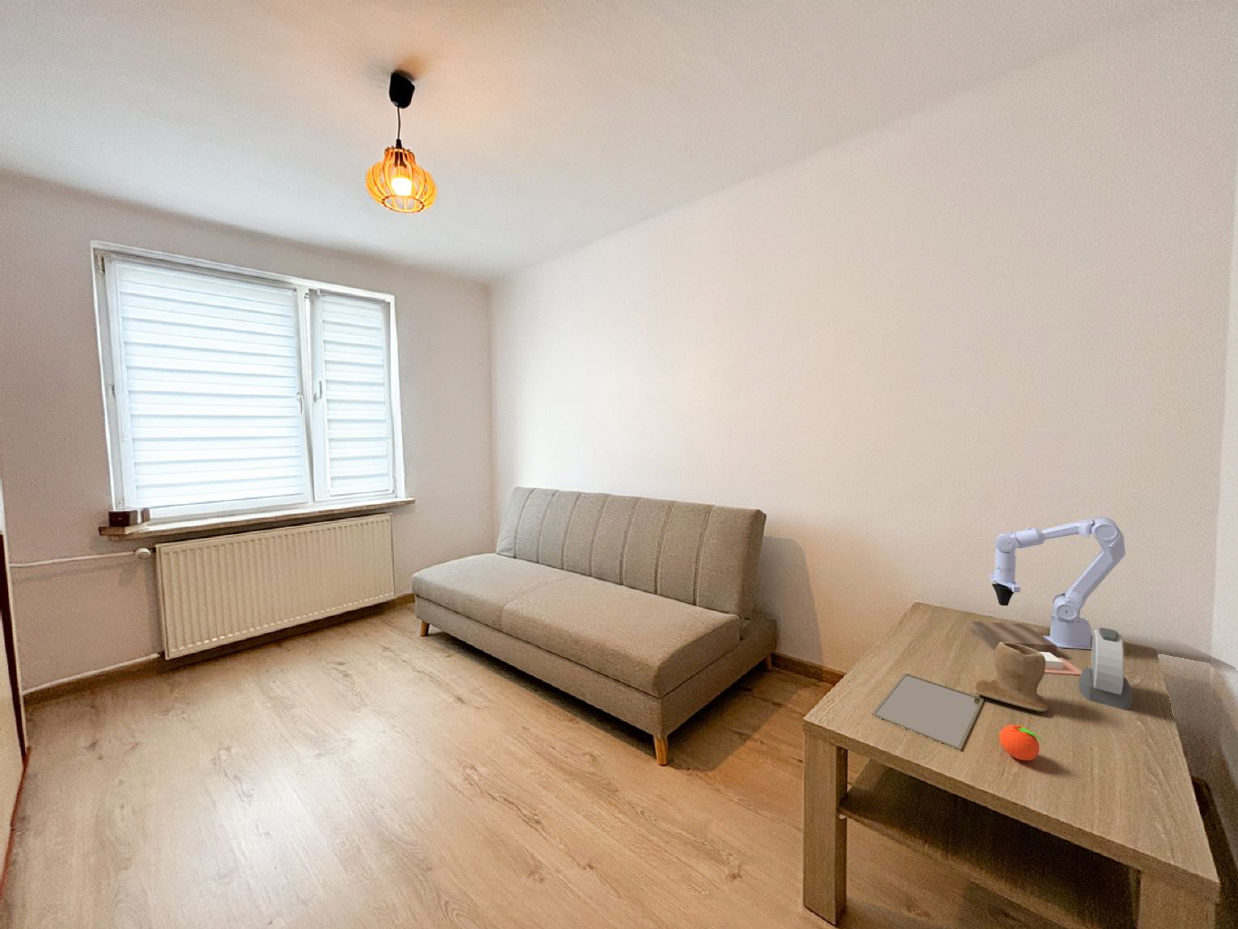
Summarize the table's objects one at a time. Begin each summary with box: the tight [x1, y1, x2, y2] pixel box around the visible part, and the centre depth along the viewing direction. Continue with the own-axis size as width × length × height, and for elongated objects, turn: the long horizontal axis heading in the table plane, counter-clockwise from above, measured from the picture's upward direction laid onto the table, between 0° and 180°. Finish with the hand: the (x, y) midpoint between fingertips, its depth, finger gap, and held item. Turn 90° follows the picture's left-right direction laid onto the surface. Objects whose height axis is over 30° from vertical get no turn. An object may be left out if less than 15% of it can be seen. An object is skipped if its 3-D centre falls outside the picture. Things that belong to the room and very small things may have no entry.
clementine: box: [998, 724, 1047, 761], centre depth 106 cm, size 8×7×7 cm
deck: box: [971, 621, 1057, 657], centre depth 158 cm, size 16×16×4 cm
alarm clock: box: [1078, 627, 1134, 711], centre depth 128 cm, size 16×10×18 cm, turn 137°
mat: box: [1044, 657, 1083, 676], centre depth 144 cm, size 18×10×1 cm, turn 78°
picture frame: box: [871, 672, 985, 752], centre depth 125 cm, size 19×1×28 cm
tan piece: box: [973, 642, 1049, 712], centre depth 127 cm, size 15×12×15 cm
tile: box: [1040, 652, 1063, 670], centre depth 144 cm, size 9×6×2 cm, turn 78°
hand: (1003, 605), depth 167 cm, fingers closed
